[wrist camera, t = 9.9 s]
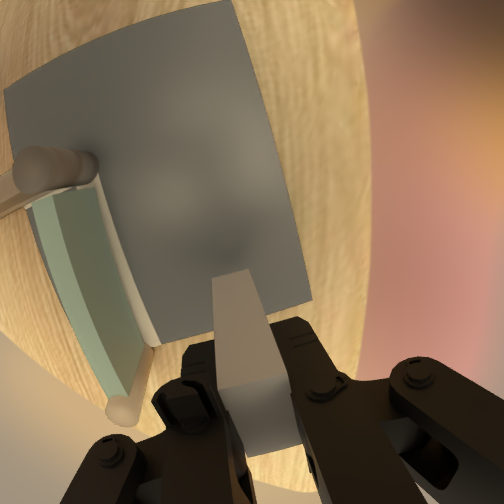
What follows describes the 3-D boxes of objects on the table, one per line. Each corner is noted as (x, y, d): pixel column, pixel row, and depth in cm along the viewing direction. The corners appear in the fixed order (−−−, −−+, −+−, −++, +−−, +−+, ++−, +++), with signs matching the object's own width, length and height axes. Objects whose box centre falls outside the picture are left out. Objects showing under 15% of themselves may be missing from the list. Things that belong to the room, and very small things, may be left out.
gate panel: (74, 193, 16) (19, 206, 10) (100, 185, 16) (51, 193, 10) (133, 365, 19) (114, 428, 13) (157, 361, 19) (144, 425, 13)
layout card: (5, 90, 13) (2, 89, 13) (230, 1, 14) (230, -2, 14) (91, 358, 19) (89, 361, 19) (311, 298, 20) (313, 300, 20)
